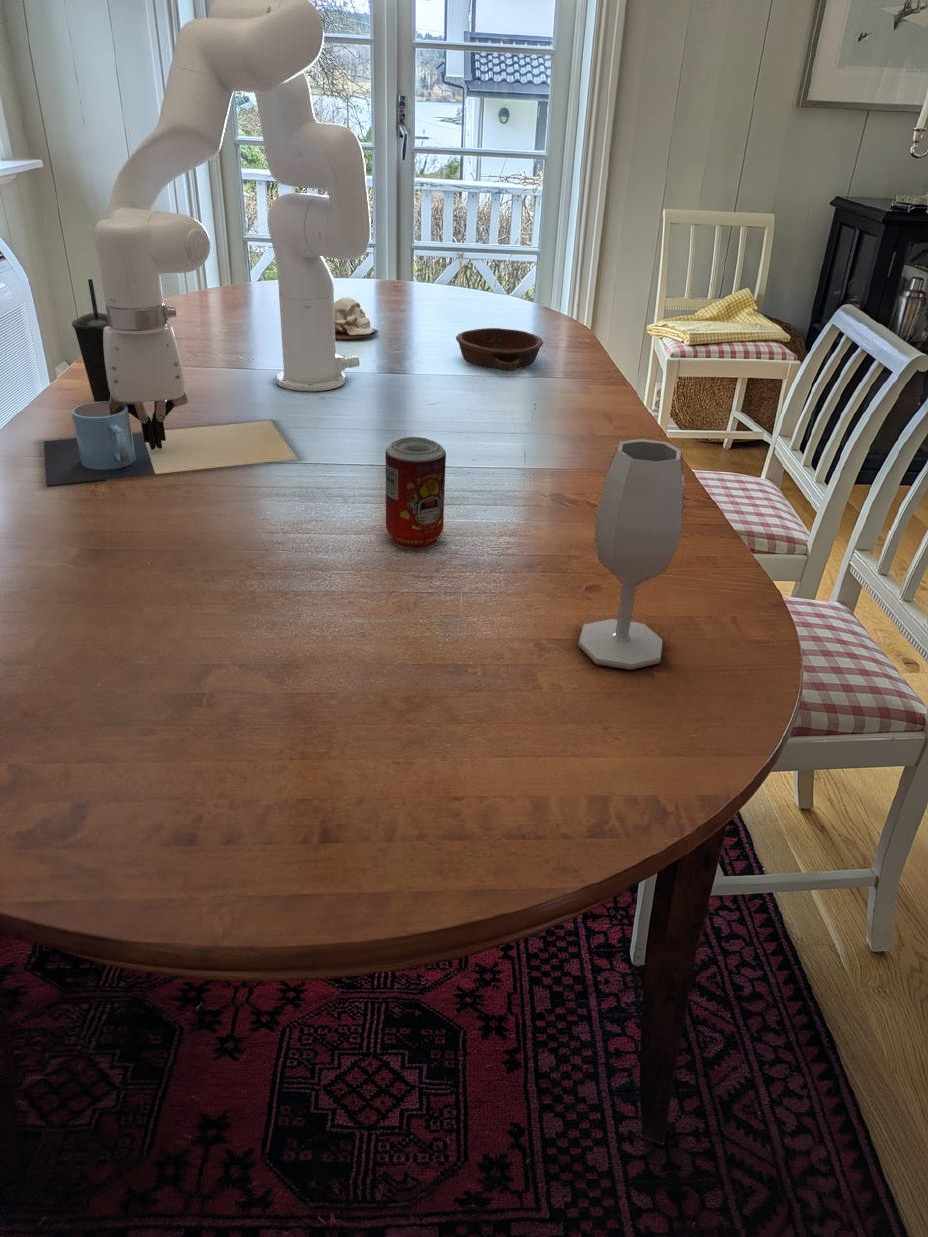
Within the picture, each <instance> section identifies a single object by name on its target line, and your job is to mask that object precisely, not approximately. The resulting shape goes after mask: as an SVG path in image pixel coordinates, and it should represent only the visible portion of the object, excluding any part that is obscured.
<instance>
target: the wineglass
mask: <svg viewBox="0 0 928 1237" xmlns="http://www.w3.org/2000/svg"><path fill="white" fill-rule="evenodd" d="M615 449H616V450H615V452H614V454H613V456H612V458H611V460H610V463H609V466H608V470H607V473H606V476H605V480H604V484H603V488H602V490H601V495H600V498H599V502H598V506H597V513H596V519H595V528H594V538H595V544H596V545H595V546H596V552H597V558H598V559H597V560H598V561H599V562H600V564H602V565H603V566H604V567H605V568H606V569H607V570H608V571H609V572H610V573H611V574H612V575H613V576H614V577H615V578H616V579H617V580H618V581H619V582H620V583H621V584H622V585H621V592H620V600H619V606H618V613H617V618H609V619H608V618H607V619H603V620H598V621H594V622H589V623H583V625H582V628H581V631H580V635H579V639H578V643H577V645H578V648H579V649H580V650H581V651H582V652H583V653H584V654H585V655H586V656H587V657H588V658H589V659H590V660H591V661H592V662H593V663H594V664H595V665H600V666H605V667H612V668H618V669H624V670H631V671H632V670H636V669H640V668H644V667H645V668H646V667H649V666H653V665H657V664H661V661H662V654H663V645H664V641H663V639H662V637H660V636H659V635H658V634H657V633H655V631H653V630H652V629H651V628H650V627H649V626H647V625H646V624H645V623H641V622H635V621H632V615H633V609H634V602H635V597H636V596H635V594H636V588H637V586H640V585H642V584H643V583H646V582H648V581H650V580H652V579H654V578H656V577H658V576H660V575H663V574H664V573H666V572H667V571H668V568H669V566H670V564H671V563H672V560H673V558H674V556H675V553H676V551H677V550H678V546H679V542H680V535H681V529H682V523H683V515H684V502H685V501H684V500H685V499H684V498H685V494H684V493H685V471H684V470H685V469H684V463H683V455H682V454H683V453H682V449H680V448H678V447H676V446H675V445H673V444H671V443H669V442H667V441H663V440H656V439H655V440H653V439H645V438H638V439H628V440H622V441H621V440H620V441H619V442H618V445H617V447H616V448H615Z"/></svg>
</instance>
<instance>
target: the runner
mask: <svg viewBox="0 0 928 1237" xmlns="http://www.w3.org/2000/svg"><path fill="white" fill-rule="evenodd" d="M164 431H165V438H166V441H161V442H162V449H159V448H157V446H156V448H155V449H152V450H151V448H150V445H149V442H146V443H145V442H144V439H143V432H142V431H141V432H132V437H133V444H134V450H135V456H136V459H135V461H134V462H133V463H131V464H130V465H127V466H125V467H121V468H117V469H110V470H95V469H89V468H86V467H84V466H83V465H82V464H81V461H80V455H79V450H78V445H77V440H76V437H75V438H64V439H52V440H44V441H43V447H44V448H43V450H44V467H45V468H44V470H45V486H46V488H47V487H48V488H49V487H56V486H58V487H59V486H68V485H77V484H84V483H85V484H86V483H94V482H104V481H105V482H106V481H107V480H114V479H123V478H132V477H133V478H134V477H141V476H142V477H143V476H152V475H159V474H170V473H171V474H172V473H180V472H188V471H198V470H207V469H217V468H226V467H235V466H236V467H237V466H245V465H255V464H263V463H272V462H273V463H274V462H282V461H283V462H284V461H292V460H293V461H294V460H298V458H297V457H296V455H295V453H293V451H292V449H291V448H290V447H289V445H288V443H287V441H285V439H284V438H283V436H282V435H281V433H280V431H279V430H278V429H277V428H276V426H275V425H274V423H273V422H272V421H271V420H262V421H261V420H260V421H252V422H241V423H230V424H219V425H207V426H198V427H197V426H195V427H186V428H184V427H183V428H173V429H164Z"/></svg>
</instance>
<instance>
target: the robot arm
mask: <svg viewBox="0 0 928 1237" xmlns="http://www.w3.org/2000/svg"><path fill="white" fill-rule="evenodd" d="M323 23H324V22H323V20H322V17H321V14H320V13H319V11H318V9H317V8H316V7H315V5H314V4H313V3H312V2H311V1H309V0H215V1H214V2H213V3H212V4H211V5H210V8H209V11H208V16H207V17H200V18H194V19H191V20H189V21H187V22H186V23H185V24H183V26H182V27H181V28H180V30H179V31H178V34H177V37H176V41H175V45H174V49H173V54H172V59H171V63H170V68H169V72H168V76H167V81H166V85H165V89H164V95H163V99H162V103H161V107H160V112H159V117H158V121H157V124H156V126H155V127H154V129H153V130H152V132H150V133H149V134H148V136H146V138H144V139H143V140H142V141H141V143H140V144H139V145H138V146H137V147H136V148H135V149H134V151H133V152H132V154H131V155H130V156H129V157H128V158H127V160H126V161H125V162H124V164H123V165H122V167H121V168H120V170H119V171H118V173H117V176H116V178H115V181H114V183H113V186H112V191H111V195H110V200H109V204H108V208H107V213H106V214H107V215H106V218H105V219H102V220H100V221H98V222H97V223H96V224H95V226H94V231H93V232H94V234H93V235H94V240H95V241H94V242H95V247H96V253H97V259H98V265H99V271H100V272H99V273H100V277H101V284H102V290H103V297H104V304H105V310H106V314H107V317H108V323H109V326H106V327H104V332H103V347H104V359H105V368H106V376H107V382H108V388H109V391H110V406H111V405H126V406H127V407H128V412H129V415H131V416H133V417H134V418H135V419H137V420H138V421H139V423H140V424H141V425H140V426H141V432H143V439H144V442H145V443H146V442H149V445H150V448H151V450H152V449H155V448H156V446H157V448H159V449H162V442H161V441H166V438H165V431H164V430H165V423H164V422H165V420H166V417H167V416H168V415H169V414H170V413H171V411H172V410H173V409H174V408H178V407H181V406H185V405H187V404H188V403H189V398H188V396H187V392H186V385H185V378H184V372H183V371H184V370H183V366H182V361H181V356H180V351H179V347H178V344H177V339H176V334H175V332H174V328H173V325H172V324H171V323H168V321H169V319H172V318H177V309H176V307H175V306H170V305H168V306H167V305H166V304H165V303H164V302H165V301H164V294H163V286H162V278H161V276H162V274H186V273H191V272H194V271H196V270H198V269H200V268H201V267H202V266H203V265H204V264H205V263H206V261H207V259H208V258H209V255H210V251H211V240H210V236H209V233H208V231H207V229H206V228H205V226H204V225H203V224H202V223H201V222H200V221H199V220H198V219H196V218H194V217H192V216H190V215H187V214H183V213H176V212H169V211H161V210H160V211H159V210H153V209H154V205H155V203H156V201H157V199H158V197H159V195H161V192H162V191H163V190H164V189H165V188H166V186H168V185H169V184H170V183H171V182H172V181H174V180H175V179H176V178H179V177H180V176H181V175H183V174H186V173H188V172H190V171H191V170H194V169H196V168H198V167H200V166H202V165H203V164H206V163H207V162H210V161H211V160H213V159H214V158H215V157H216V156H218V154H219V153H220V152H221V148H222V143H223V139H224V134H225V129H226V125H227V120H228V116H229V112H230V108H231V103H232V99H233V95H234V94H235V93H236V92H245V93H247V92H248V93H254V95H255V100H256V104H257V105H256V106H257V111H258V116H259V122H260V129H261V134H262V140H263V146H264V152H265V153H264V154H265V157H266V163H267V167H268V169H269V173H270V175H271V177H272V179H274V180H275V181H276V182H277V183H279V184H281V185H284V186H288V187H295V188H304V189H313V190H314V189H315V190H323V191H326V193H327V195H324V194H323V195H322V194H314V193H302V192H291V193H285V194H282V195H280V196H279V197H277V198H276V199H275V200H274V201H273V202H272V204H271V205H270V207H269V210H268V214H267V227H268V233H269V236H270V240H271V245H272V247H273V253H274V259H275V263H276V271H277V273H276V274H277V286H278V300H279V314H280V315H279V317H280V331H281V349H282V362H283V363H282V364H283V370H281V371H279V372H278V373H276V375H275V383H276V384H277V385H278V386H279V387H281V388H283V389H287V390H292V391H298V392H322V391H329V390H334V389H336V388H340V387H342V386H343V385H344V384H345V383H346V375H345V374H344V372H343V371H345V370H346V369H347V368H349V369H353V368H357V367H359V366H360V358H359V356H357V355H355V356H349V357H346V356H345V355H338V354H337V349H336V338H335V317H334V303H335V291H334V290H335V288H334V280H333V276H332V274H331V270H330V269H329V267H328V265H327V263H326V261H325V259H324V258H327V259H334V260H335V259H336V260H344V261H345V260H347V261H353V260H357V259H359V258H362V257H363V256H364V255H365V253H366V252H367V250H368V248H369V246H370V242H371V235H372V234H371V233H372V229H371V228H372V227H371V226H372V224H371V214H370V213H371V211H370V203H369V202H370V201H369V194H368V193H369V192H368V184H367V183H368V182H367V172H366V163H365V157H364V152H363V149H362V148H363V147H362V145H361V143H360V140H359V138H358V137H357V134H356V133H355V132H354V131H353V130H352V129H351V128H350V127H348V126H346V125H344V124H339V123H333V122H320V121H318V119H317V118H316V116H315V112H314V106H313V100H312V94H311V93H312V92H311V88H310V83H309V81H308V79H307V76H306V74H305V71H306V70H308V69H309V68H311V67H312V66H313V65H314V64H315V63H316V62H317V61H318V58H319V57H320V55H321V52H322V50H323V46H324V42H325V28H324V24H323ZM150 402H153V403H154V404H153V413H152V417H150V415H149V414H148V413H147V411H146V408H145V404H144V403H150Z"/></svg>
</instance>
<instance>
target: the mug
mask: <svg viewBox="0 0 928 1237" xmlns="http://www.w3.org/2000/svg"><path fill="white" fill-rule="evenodd" d="M71 420H72V423H73V428H74V434H75V438H76V440H77V445H78V450H79V455H80V461H81V464H82V465H83V466H84V467H86V468H89V469H95V470H110V469H117V468H121V467H125V466H127V465H130V464H131V463H133V462H134V461H135V459H136V456H135V450H134V444H133V437H132V433H133V431H132V426H131V419H130V413H129V412H128V407H127V406H126V405H111V406H110V401H101V402H94V401H92V402H87V403H83V404H79V405H77V406H75V407H73V408H72V409H71Z"/></svg>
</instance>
